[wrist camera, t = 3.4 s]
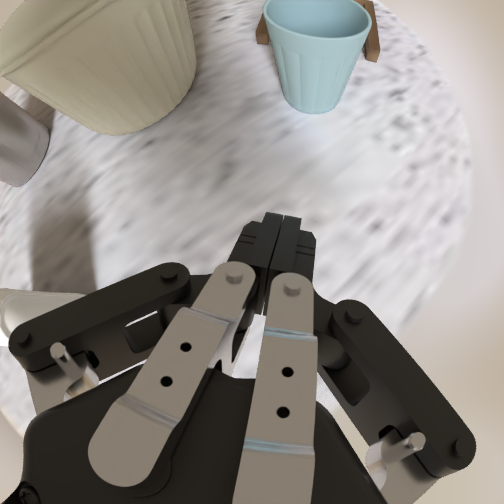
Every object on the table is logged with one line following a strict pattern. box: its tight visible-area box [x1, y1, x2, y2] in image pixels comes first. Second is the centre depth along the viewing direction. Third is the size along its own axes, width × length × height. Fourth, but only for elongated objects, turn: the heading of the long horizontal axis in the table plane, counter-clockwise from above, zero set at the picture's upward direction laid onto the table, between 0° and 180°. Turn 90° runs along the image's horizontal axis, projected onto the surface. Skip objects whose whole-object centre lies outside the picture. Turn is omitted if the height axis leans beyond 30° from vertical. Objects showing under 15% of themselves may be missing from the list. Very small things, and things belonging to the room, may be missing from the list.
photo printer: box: [0, 288, 86, 346], centre depth 18 cm, size 10×4×12 cm, turn 96°
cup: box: [263, 0, 372, 114], centre depth 19 cm, size 8×8×10 cm
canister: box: [0, 0, 196, 135], centre depth 16 cm, size 18×18×21 cm
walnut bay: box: [256, 0, 380, 62], centre depth 25 cm, size 13×12×2 cm
